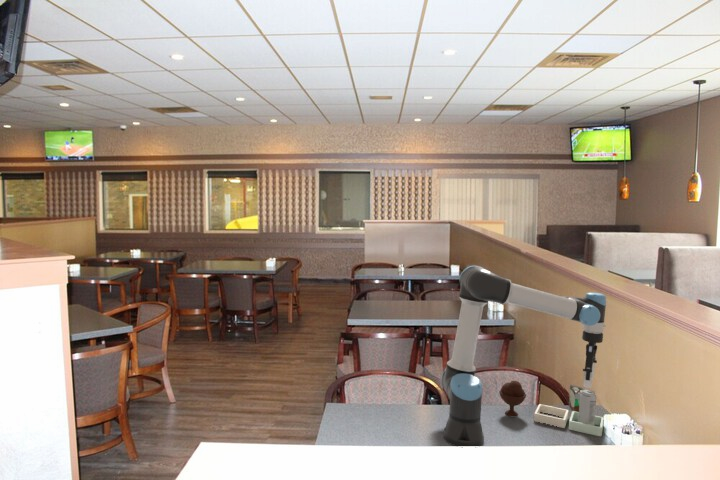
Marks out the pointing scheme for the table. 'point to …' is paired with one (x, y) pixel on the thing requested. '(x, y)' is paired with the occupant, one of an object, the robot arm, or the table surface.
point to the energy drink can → (587, 407)
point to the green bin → (586, 425)
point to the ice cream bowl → (512, 396)
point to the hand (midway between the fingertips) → (588, 382)
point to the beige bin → (549, 419)
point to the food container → (575, 397)
